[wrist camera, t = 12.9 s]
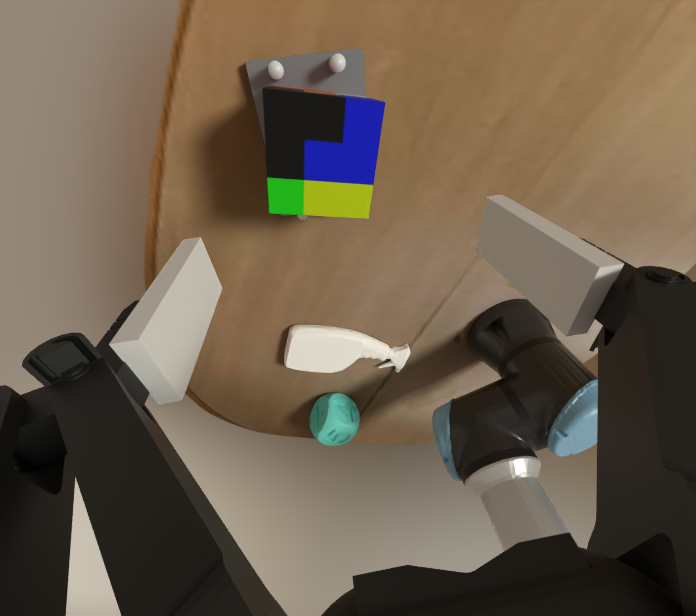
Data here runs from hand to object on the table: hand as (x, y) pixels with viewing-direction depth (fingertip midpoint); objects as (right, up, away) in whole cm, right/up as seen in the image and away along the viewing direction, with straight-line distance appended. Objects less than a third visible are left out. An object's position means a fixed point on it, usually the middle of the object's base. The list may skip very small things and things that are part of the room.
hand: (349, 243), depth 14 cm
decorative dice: (-4, -25, +54) cm, 60 cm away
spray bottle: (0, -11, +45) cm, 46 cm away
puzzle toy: (-4, +16, +21) cm, 27 cm away
